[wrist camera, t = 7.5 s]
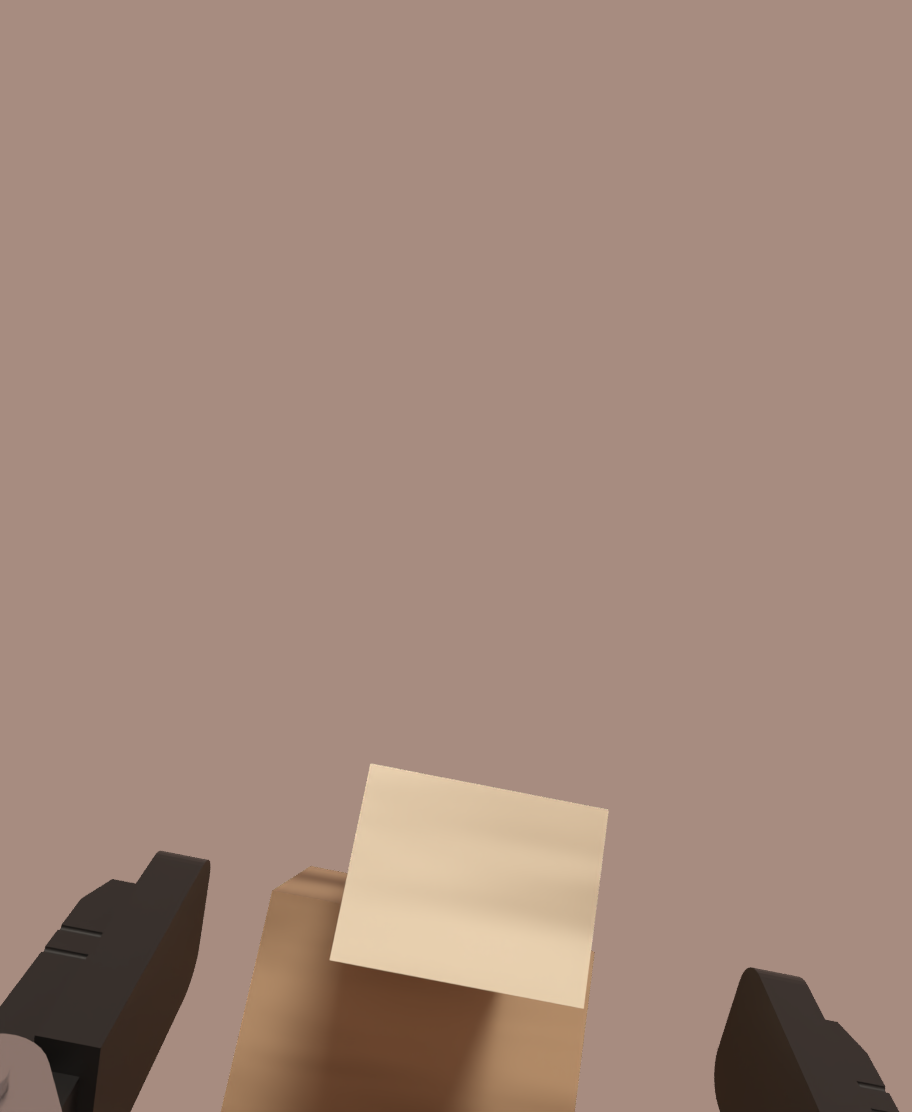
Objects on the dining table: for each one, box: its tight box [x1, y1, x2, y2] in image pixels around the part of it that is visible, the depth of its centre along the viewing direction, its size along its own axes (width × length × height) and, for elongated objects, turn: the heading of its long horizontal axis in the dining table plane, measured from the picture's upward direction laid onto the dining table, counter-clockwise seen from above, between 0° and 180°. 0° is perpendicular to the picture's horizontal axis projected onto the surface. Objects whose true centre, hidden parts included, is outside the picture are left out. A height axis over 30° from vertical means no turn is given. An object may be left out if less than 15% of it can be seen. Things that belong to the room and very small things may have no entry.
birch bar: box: [330, 764, 609, 1009], centre depth 23 cm, size 20×4×3 cm, turn 4°
